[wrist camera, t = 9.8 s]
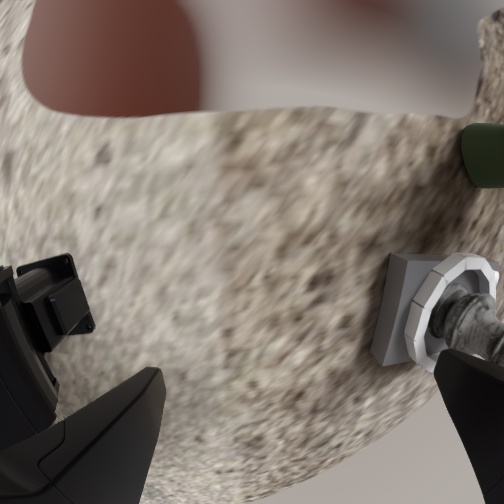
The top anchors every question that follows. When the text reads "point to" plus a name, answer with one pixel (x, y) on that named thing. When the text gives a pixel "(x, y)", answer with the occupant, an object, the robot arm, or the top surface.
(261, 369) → the top surface
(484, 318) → the grey stone finial
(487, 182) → the character mug
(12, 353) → the robot arm
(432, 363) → the faceted bowl on plate
